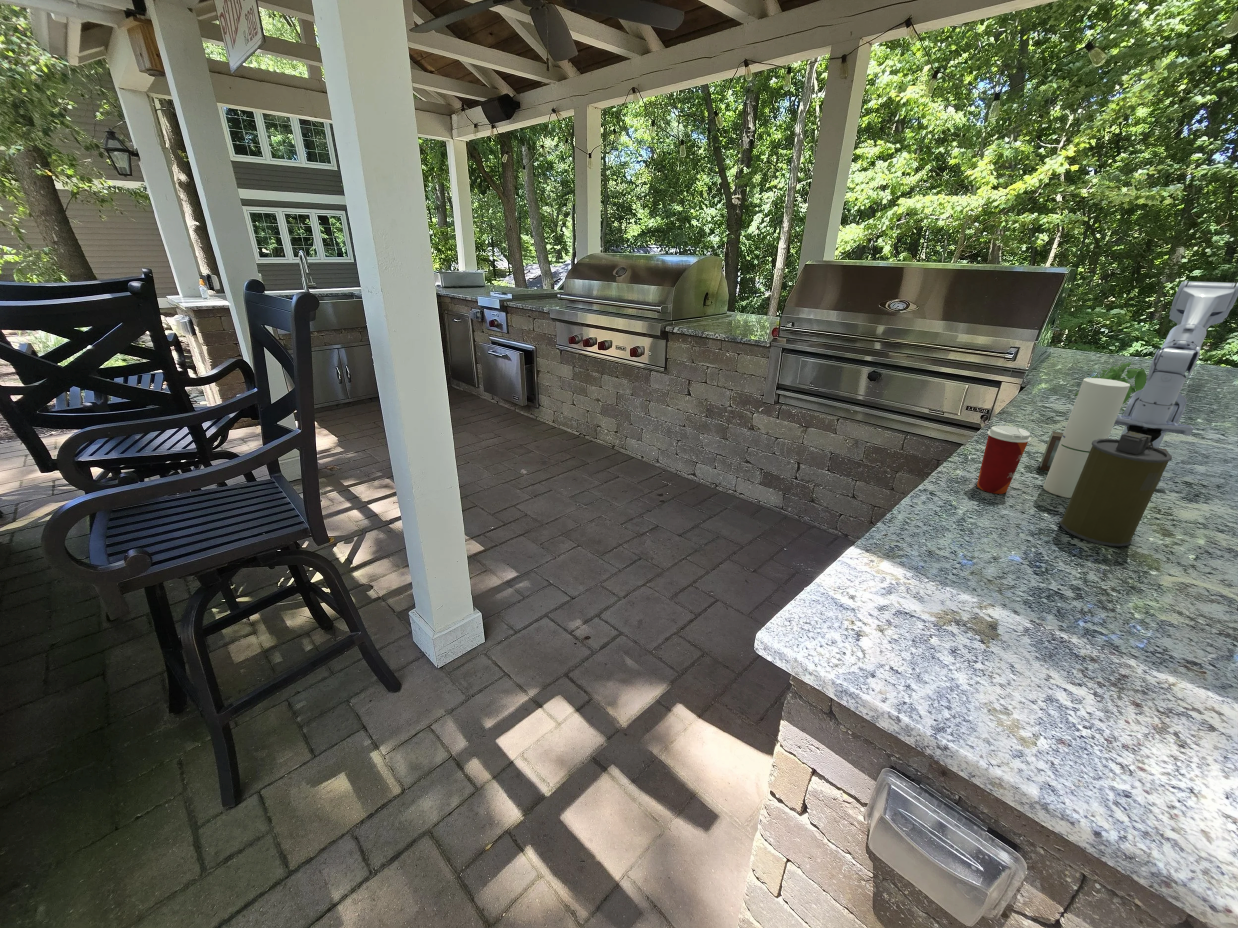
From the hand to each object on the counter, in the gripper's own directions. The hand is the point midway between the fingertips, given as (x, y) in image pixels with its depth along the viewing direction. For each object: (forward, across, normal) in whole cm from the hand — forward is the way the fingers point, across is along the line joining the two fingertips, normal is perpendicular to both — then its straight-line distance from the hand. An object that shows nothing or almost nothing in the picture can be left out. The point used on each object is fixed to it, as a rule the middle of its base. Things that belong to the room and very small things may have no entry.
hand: (1131, 457), depth 118 cm
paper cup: (+5, -25, -28) cm, 38 cm away
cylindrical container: (+5, -12, -20) cm, 24 cm away
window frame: (+5, -6, -6) cm, 10 cm away
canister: (+5, -8, -39) cm, 40 cm away
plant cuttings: (+5, +2, +48) cm, 48 cm away
